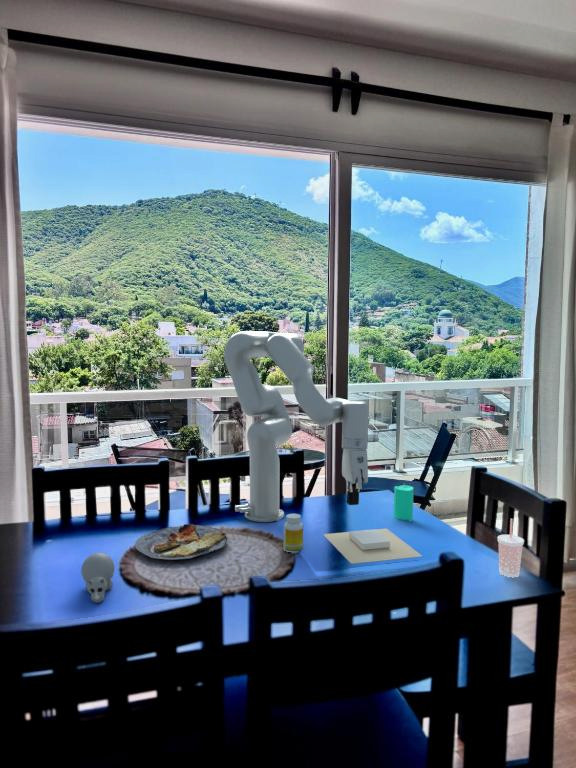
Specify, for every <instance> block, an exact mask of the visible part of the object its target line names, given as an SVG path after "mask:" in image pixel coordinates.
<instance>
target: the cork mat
mask: <svg viewBox="0 0 576 768" xmlns="http://www.w3.org/2000/svg"><path fill="white" fill-rule="evenodd" d="M375 530H377V531H378V532H379V533H380V534H382V535H383V536H384V537H385V538H387V539H388V540H389V541H390V547H389V548H388V549H378V550H368V551H362V550H361V549H360V548H359V547H358V546H357V545H356V544H355V543H354V542H353V541H352V540H351V539H350V538H349V532H350V531H345V532H334V533H324V534H323V533H322V534H323V536H324V537H325V538H326V539H327V540H328V541H329V542H330V543H331V545H333V546H334V548H335V549H336V550H337V551H338V552H339V553H341V555H342V556H343V557H344V558H345V559H346V560H347V561H348V562H349V564H351V565H354V564H363V563H364V564H365V563H373V562H383V561H391V560H401V559H411V558H419V557H423V555H422V554H420V553H419V552H418V551H416V549H414V548H413V547H411V546H410V545H409V544H407V543H406V542H405V541H403V540H402V539H401V538H400V537H398V536H397V535H396V534H395V533H393V532H392V531H391V530H389V529H388V528H380V529H378V528H377V529H375ZM414 561H415V562H416V561H418V560H416V559H414ZM405 562H406V563H407V562H408V560H406V561H405ZM395 563H399V562H397V561H396V562H395ZM387 564H390V563H388V562H387V563H386V565H387Z"/></svg>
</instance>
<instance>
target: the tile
mask: <svg viewBox="0 0 576 768" xmlns="http://www.w3.org/2000/svg"><path fill="white" fill-rule="evenodd" d="M348 532H349V538H350V539H351V540H352V541H353V542H354V543H355V544H356V545H357V546H358V547H359V548H360V549H361V550H362V551H368V550H378V549H388V548H389V547H390V541H389V540H388V539H387V538H385V537H384V536H383V535H382V534H380V533H379V532H378V531H377V530H376V529H364V530H363V529H362V530H351V531H348Z"/></svg>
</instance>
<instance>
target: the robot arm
mask: <svg viewBox="0 0 576 768" xmlns="http://www.w3.org/2000/svg"><path fill="white" fill-rule="evenodd" d="M304 351H305V345H304V341H303V339H302V338H301V337H300V336H299V335H297V334H296V333H292V332H291V333H287V332H274V331H273V332H272V331H263V330H259V331H255V330H254V331H253V330H244V331H243V330H242V331H239V332H236V333H234V334H233V335H232V336H230V337H229V339H228V340H227V341H226V343H225V347H224V352H223V355H224V363H225V365H226V368H227V370H228V373H229V375H230V377H231V380H232V382H233V387H234V389H235V392H236V395H237V398H238V401H239V405H240V407H241V409H242V411H243V413H244V414H245V415H247V416H249V417H259V416H261V418H260V419H257V420H256V421H254V422H253V423H252V424H251V425H250V426H249V427H248V430H247V432H246V433H247V434H246V440H247V446H248V447H247V448H248V453H249V500H248V501H247V503H244V504H242V505H241V504H239V505H238V504H237V505H236V504H235V505H234V510H235V512H239V513H240V514H241V513H244V517H245V518H246V519H247V520H249V521H251V522H252V521H253V522H256V523H257V522H258V523H259V522H260V523H271V522H277V521H279V520H282V519H283V518H284V517H285V512H284V510H283V509H280V476H281V475H280V473H281V471H280V457H279V451H278V449H277V446H281V445H283V444H285V443H287V442H288V441H289V440H290V439H291V437H292V434H293V426H292V425H293V424H292V422H291V419H290V416H289V413H288V410H287V407H286V404H285V402H284V398H283V397H282V394H281V393H280V392H279V390H278V388H276V387H275V386H272V385H268V384H264V385H263V384H262V380H261V379H260V375H259V372H258V370H257V368H256V367H255V365H254V364H253V363H252V362H251V358H270V359H271V360H272V361H273V363H275V365H276V366H277V367H278V368H279V370H280V371H281V372H282V373H283V375H284V376H285V378H287V380H288V381H289V382H290V384H291V385H292V391H293V393H294V397H295V400H296V402H297V403H298V405H299V406H300V408H301V409H302V411H303V412H304V413H305V414H306V416H307V417H308V418H309V419H310V420H311V421H312V422H313V423H315V424H316V425H318V426H321V427H326V426H327V427H328V426H330V425H333V424H337V423H342V424H341V426H342V427H341V429H342V430H341V449H342V458H341V459H342V460H341V475H342V477H343V478H344V479H345V481H346V504H347V505H349V506H357V505H359V504H360V490H361V489H363V484H362V483H364V484H367V483H368V482H369V468H368V467H369V463H368V462H369V461H368V460H369V459H368V451H367V450H368V443H369V442H368V441H369V436H368V435H369V416H370V415H369V409H370V408H369V403H368V402H366V401H364V400H358V399H357V400H353V399H352V400H348V399H344V398H341V397H330V398H326V399H325V397H323V395H322V394H321V392H320V391H319V390H318V389H317V387H316V385H315V384H314V380H313V375H314V371H315V368H314V367H315V366H314V365H313V363H311V362H310V360H309V359H308V358H307V357H306V356H305V355H304Z"/></svg>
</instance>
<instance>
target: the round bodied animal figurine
mask: <svg viewBox="0 0 576 768" xmlns="http://www.w3.org/2000/svg"><path fill="white" fill-rule="evenodd" d="M80 573H81V577H82V578H83V580H84V582H85V590H86V591H87V592H88V593H89V594H90V595H91V596H90V597H91V601H92V602H93V603H95V604H99V603H101V602H103V601H104V599H105V593H106V592H107V591H109V590H111V589H112V588H113V581H112V578H113V577H114V573H115V562H114V561H113V559H112V557H111V556H110V555H108V554H106V553H104V552H95V553H92V554H90V555H89V556H87V557H86V558H85V560H84V561H83V563H82V565H81V570H80Z"/></svg>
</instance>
